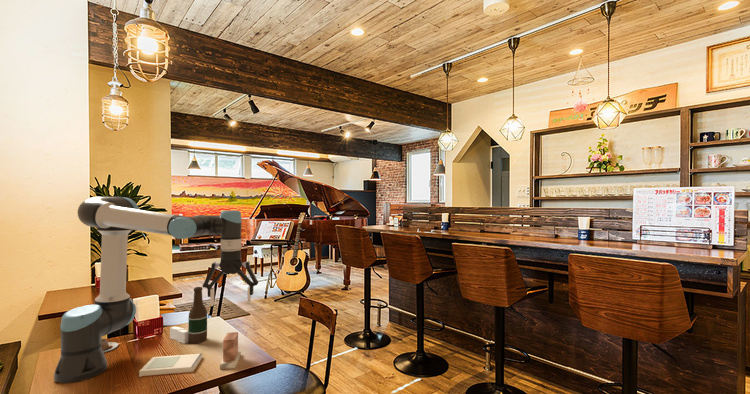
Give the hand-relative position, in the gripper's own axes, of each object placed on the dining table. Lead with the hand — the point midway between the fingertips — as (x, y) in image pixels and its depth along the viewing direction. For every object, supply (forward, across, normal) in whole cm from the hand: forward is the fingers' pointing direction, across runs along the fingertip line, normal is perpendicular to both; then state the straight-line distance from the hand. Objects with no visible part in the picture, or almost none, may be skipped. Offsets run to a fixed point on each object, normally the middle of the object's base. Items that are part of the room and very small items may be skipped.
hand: (230, 304), depth 143 cm
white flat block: (+23, -21, 0) cm, 31 cm away
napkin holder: (+23, -28, +28) cm, 46 cm away
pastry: (+23, -57, +24) cm, 66 cm away
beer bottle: (+23, -19, +26) cm, 39 cm away
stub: (+22, 0, 0) cm, 22 cm away
